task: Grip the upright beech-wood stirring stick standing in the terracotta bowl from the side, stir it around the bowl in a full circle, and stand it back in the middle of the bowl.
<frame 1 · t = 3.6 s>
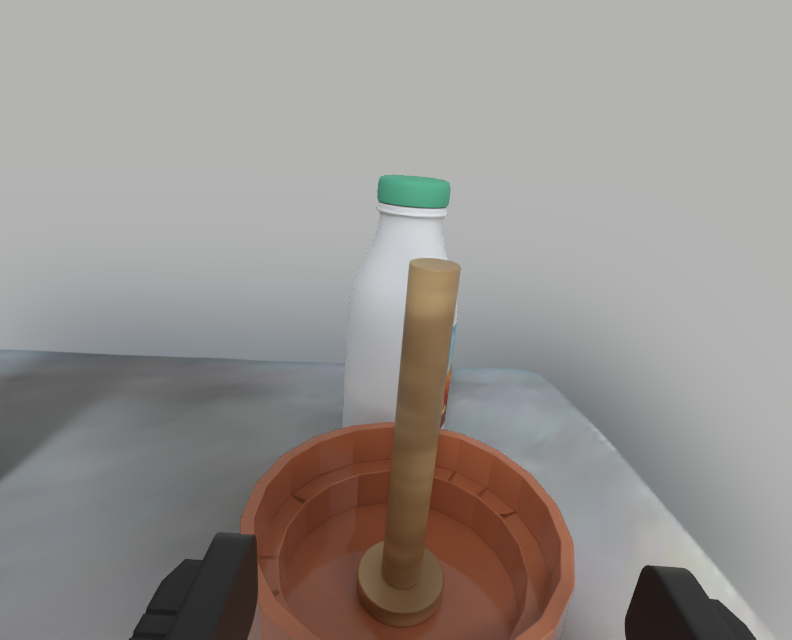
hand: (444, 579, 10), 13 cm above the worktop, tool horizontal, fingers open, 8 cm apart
stirring stick: (399, 586, 24), point 1 cm above the worktop, touching bowl
milk bottle: (390, 445, 37), on the worktop
bowl: (398, 595, 24), on the worktop
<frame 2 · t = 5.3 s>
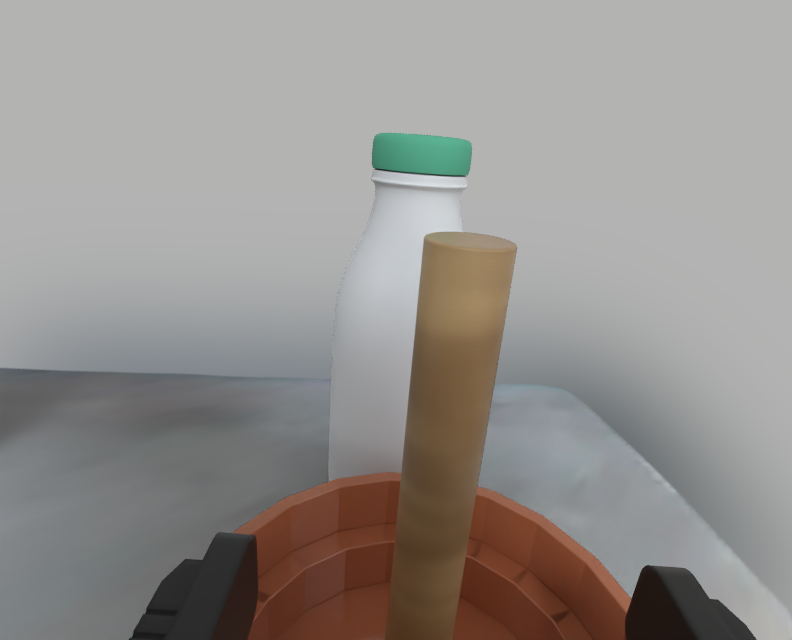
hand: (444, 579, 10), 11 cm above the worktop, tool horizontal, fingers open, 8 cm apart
milk bottle: (391, 490, 28), on the worktop
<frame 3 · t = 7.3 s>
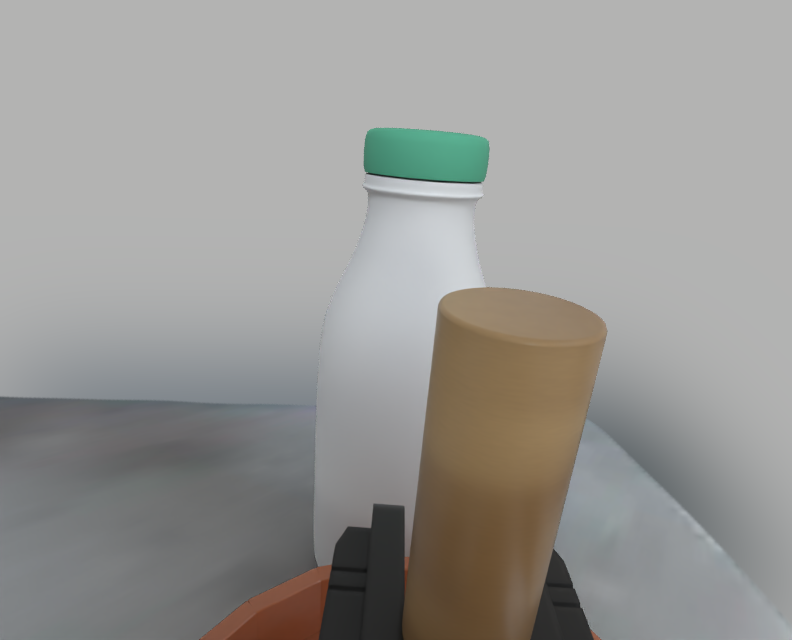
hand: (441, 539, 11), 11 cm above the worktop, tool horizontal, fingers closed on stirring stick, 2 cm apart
milk bottle: (388, 552, 24), on the worktop
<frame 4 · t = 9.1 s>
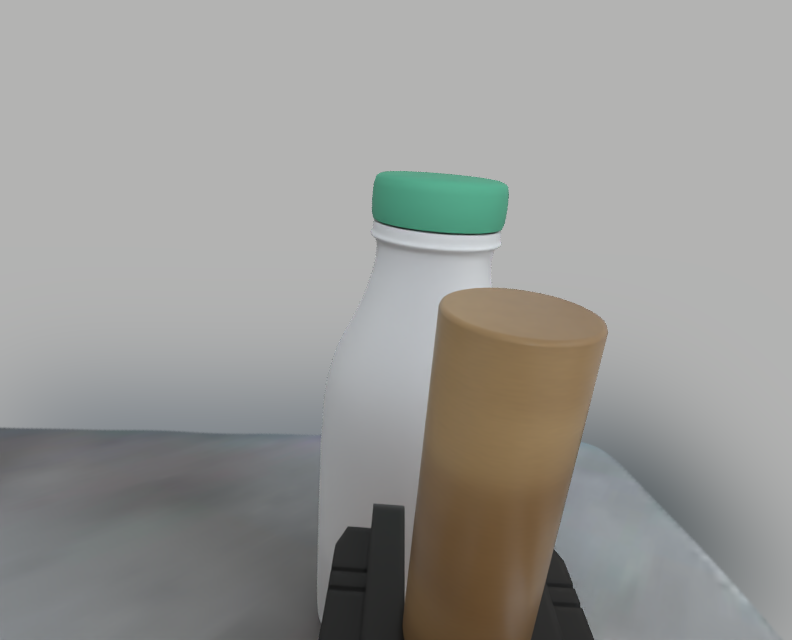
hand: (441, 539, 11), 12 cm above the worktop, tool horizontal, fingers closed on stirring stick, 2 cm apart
milk bottle: (396, 606, 23), on the worktop
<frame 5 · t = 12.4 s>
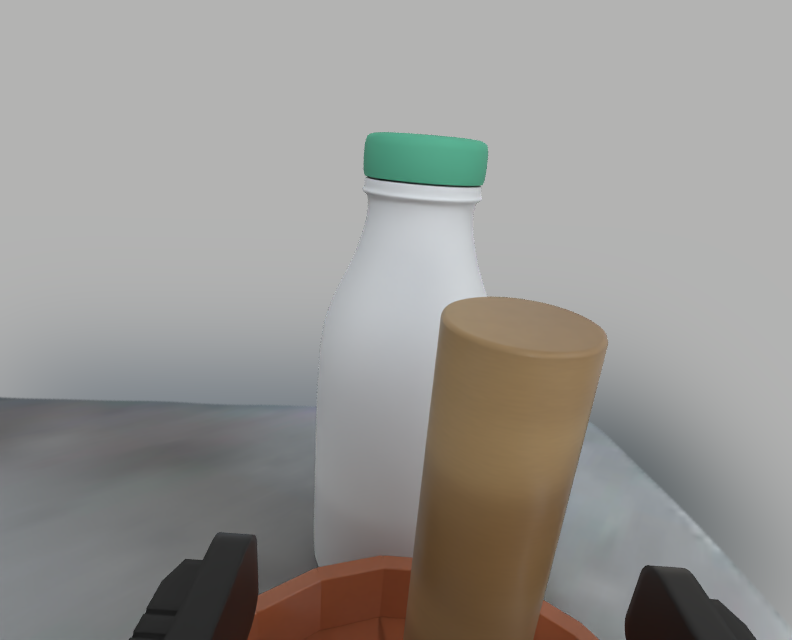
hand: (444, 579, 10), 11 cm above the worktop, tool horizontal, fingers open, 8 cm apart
milk bottle: (388, 552, 24), on the worktop
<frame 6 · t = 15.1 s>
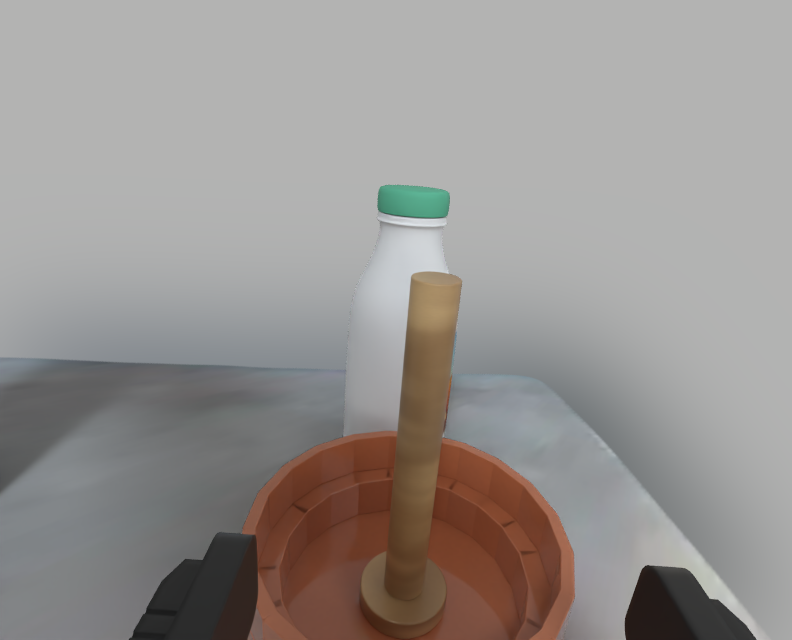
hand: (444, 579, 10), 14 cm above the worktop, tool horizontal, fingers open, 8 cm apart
stirring stick: (402, 597, 24), point 1 cm above the worktop, touching bowl
milk bottle: (391, 453, 37), on the worktop
bowl: (399, 604, 24), on the worktop
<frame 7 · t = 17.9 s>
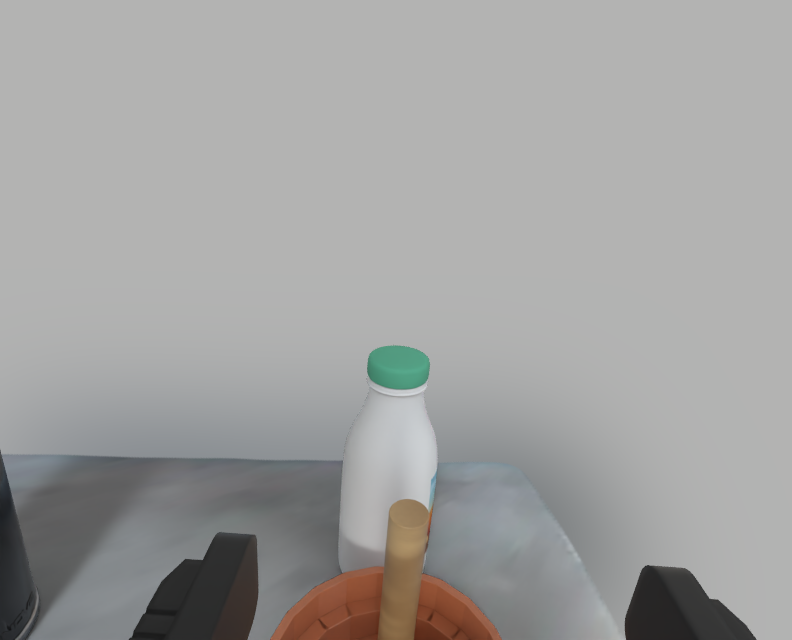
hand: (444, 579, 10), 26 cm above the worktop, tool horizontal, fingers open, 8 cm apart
milk bottle: (381, 562, 41), on the worktop
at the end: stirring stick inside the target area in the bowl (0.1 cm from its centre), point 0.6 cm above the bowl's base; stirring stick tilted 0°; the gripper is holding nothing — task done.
